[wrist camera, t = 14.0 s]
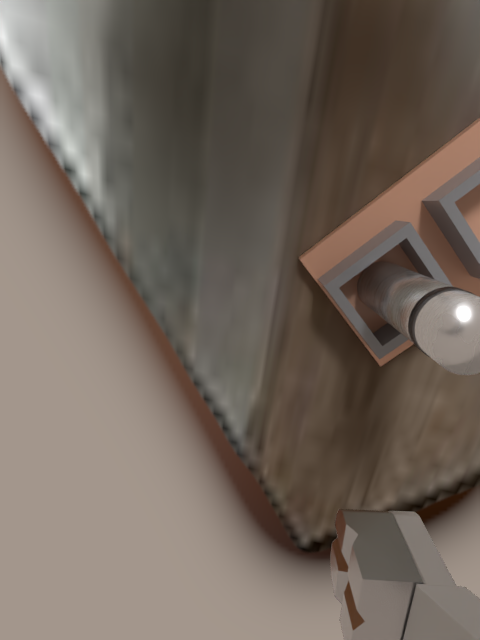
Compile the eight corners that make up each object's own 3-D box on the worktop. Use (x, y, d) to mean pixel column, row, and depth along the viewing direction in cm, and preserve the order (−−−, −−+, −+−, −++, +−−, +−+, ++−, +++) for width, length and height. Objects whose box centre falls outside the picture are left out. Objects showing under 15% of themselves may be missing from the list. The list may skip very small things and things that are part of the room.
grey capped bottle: (346, 281, 34) (414, 331, 20) (388, 250, 33) (487, 281, 20) (374, 318, 35) (457, 390, 21) (415, 289, 34) (528, 344, 21)
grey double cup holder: (297, 257, 35) (305, 265, 31) (487, 111, 31) (523, 98, 27) (376, 361, 37) (392, 380, 33) (559, 236, 34) (601, 240, 30)
